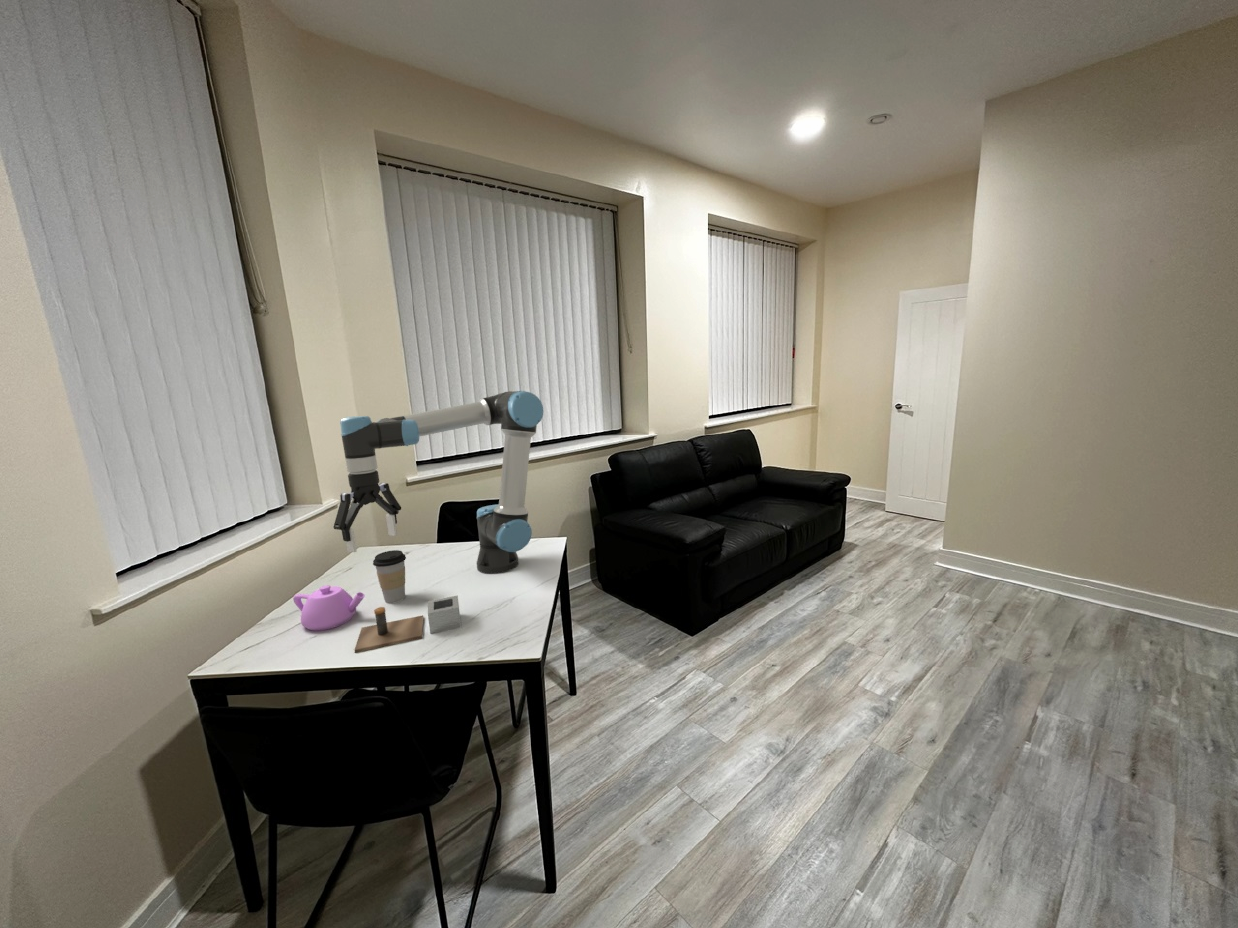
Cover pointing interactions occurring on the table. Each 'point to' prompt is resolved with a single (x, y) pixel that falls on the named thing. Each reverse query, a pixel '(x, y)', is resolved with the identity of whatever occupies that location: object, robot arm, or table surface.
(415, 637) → the keeper
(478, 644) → the table surface
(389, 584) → the coffee cup
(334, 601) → the teapot
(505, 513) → the robot arm
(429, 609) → the hollow square block
